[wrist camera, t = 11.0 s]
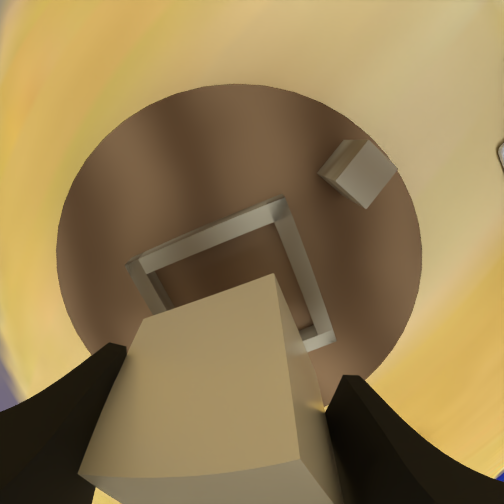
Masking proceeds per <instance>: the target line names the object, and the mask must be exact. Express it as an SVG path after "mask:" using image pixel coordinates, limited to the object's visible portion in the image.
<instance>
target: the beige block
mask: <svg viewBox="0 0 504 504" xmlns="http://www.w3.org/2000/svg"><path fill="white" fill-rule="evenodd" d="M78 475H80V476H81V477H83V478H84V479H85V480H87V481H88V482H90V483H91V484H93V485H94V486H95V487H97V488H98V489H100V490H101V491H103V492H104V493H106V494H108V495H109V496H111V497H112V498H114V499H116V500H117V501H119V502H120V503H122V504H344V502H343V497H342V492H341V487H340V481H339V476H338V471H337V467H336V462H335V457H334V452H333V447H332V443H331V438H330V434H329V429H328V425H327V420H326V415H325V410H324V406H323V402H322V397H321V393H320V388H319V384H318V380H317V375H316V372H315V370H314V367H313V365H312V363H311V360H310V358H309V355H308V353H307V351H306V348H305V346H304V343H303V341H302V338H301V336H300V334H299V331H298V329H297V326H296V324H295V322H294V319H293V317H292V314H291V312H290V310H289V307H288V305H287V303H286V300H285V298H284V295H283V293H282V291H281V288H280V286H279V284H278V281H277V279H276V276H275V274H274V273H272V274H270V275H267V276H264V277H261V278H259V279H256V280H253V281H250V282H248V283H245V284H242V285H239V286H237V287H234V288H231V289H228V290H225V291H223V292H220V293H217V294H214V295H211V296H208V297H206V298H203V299H200V300H197V301H194V302H191V303H188V304H186V305H183V306H180V307H177V308H174V309H171V310H168V311H165V312H162V313H159V314H156V315H153V316H150V317H148V318H145V319H143V321H142V323H141V325H140V327H139V329H138V331H137V333H136V336H135V338H134V340H133V342H132V344H131V346H130V348H129V351H128V353H127V356H126V358H125V360H124V362H123V365H122V367H121V369H120V371H119V374H118V376H117V378H116V380H115V382H114V384H113V386H112V388H111V391H110V393H109V395H108V398H107V400H106V403H105V405H104V407H103V410H102V412H101V414H100V417H99V419H98V422H97V424H96V427H95V429H94V432H93V434H92V437H91V439H90V442H89V445H88V447H87V450H86V452H85V455H84V458H83V460H82V463H81V466H80V469H79V471H78Z"/></svg>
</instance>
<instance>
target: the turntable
mask: <svg viewBox="0 0 504 504" xmlns="http://www.w3.org/2000/svg"><path fill="white" fill-rule="evenodd" d="M397 170H398V168H397V167H396V166H395V165H394V164H393V163H392V162H391V161H390V159H389V158H388V156H387V155H386V154H385V153H384V152H383V150H382V149H381V148H380V147H379V146H378V145H377V144H376V143H375V142H374V140H373V139H372V138H371V137H370V136H369V135H368V134H366V133H365V132H364V131H363V130H362V129H360V128H359V127H358V126H357V125H356V124H354V123H353V122H352V121H351V120H349V119H348V118H347V117H345V116H343V115H342V114H340V113H338V112H336V111H335V110H333V109H331V108H330V107H328V106H326V105H324V104H323V103H320V102H318V101H315V100H313V99H310V98H308V97H305V96H303V95H300V94H297V93H295V92H291V91H286V90H282V89H278V88H273V87H268V86H261V85H246V84H227V85H216V86H206V87H201V88H197V89H193V90H189V91H185V92H181V93H177V94H174V95H172V96H169V97H167V98H165V99H162V100H160V101H158V102H155V103H153V104H151V105H149V106H147V107H145V108H144V109H142V110H140V111H139V112H137V113H136V114H134V115H132V116H131V117H129V118H128V119H126V120H125V121H123V122H122V123H121V124H120V125H119V126H118V127H116V128H115V129H114V130H113V131H112V132H111V133H110V134H108V135H107V136H106V137H105V138H104V139H103V140H102V141H101V142H100V144H99V145H98V146H97V147H96V148H95V150H94V151H93V152H92V153H91V154H90V156H89V157H88V158H87V159H86V161H85V163H84V164H83V166H82V167H81V169H80V171H79V172H78V174H77V176H76V178H75V179H74V181H73V183H72V186H71V188H70V190H69V193H68V195H67V198H66V200H65V203H64V206H63V210H62V214H61V218H60V222H59V226H58V236H57V246H56V256H57V273H58V279H59V284H60V290H61V294H62V297H63V301H64V304H65V307H66V310H67V313H68V315H69V317H70V319H71V322H72V324H73V326H74V328H75V330H76V332H77V334H78V335H79V337H80V338H81V340H82V342H83V343H84V345H85V346H86V348H87V349H88V351H89V352H90V353H91V355H93V354H94V353H95V352H97V351H98V350H99V349H101V348H102V347H103V346H105V345H106V344H107V343H109V342H110V343H115V344H119V345H123V346H126V348H127V353H128V351H129V348H130V346H131V344H132V342H133V340H134V338H135V336H136V333H137V331H138V329H139V327H140V325H141V323H142V321H143V319H145V318H148V317H150V316H153V315H156V314H159V313H162V312H165V311H168V310H171V309H174V308H177V307H180V306H183V305H186V304H188V303H191V302H194V301H197V300H200V299H203V298H206V297H208V296H211V295H214V294H217V293H220V292H223V291H225V290H228V289H231V288H234V287H237V286H239V285H242V284H245V283H248V282H250V281H253V280H256V279H259V278H261V277H264V276H267V275H270V274H272V273H274V274H275V276H276V279H277V281H278V284H279V286H280V288H281V291H282V293H283V295H284V298H285V300H286V303H287V305H288V307H289V310H290V312H291V314H292V317H293V319H294V322H295V324H296V326H297V329H298V331H299V334H300V336H301V338H302V341H303V343H304V346H305V348H306V351H307V353H308V355H309V358H310V360H311V363H312V365H313V367H314V370H315V372H316V375H317V380H318V384H319V388H320V393H321V397H322V402H323V406H324V407H325V406H327V405H329V404H330V402H331V400H332V397H333V395H334V393H335V391H336V389H337V387H338V384H339V382H340V380H341V378H342V376H343V375H359V376H360V377H361V378H363V379H364V380H366V379H367V378H368V377H369V376H370V375H371V374H372V373H373V372H374V371H375V370H376V369H377V368H378V367H379V366H380V365H381V363H382V362H383V361H384V360H385V358H386V357H387V356H388V354H389V353H390V352H391V351H392V349H393V348H394V346H395V345H396V343H397V341H398V340H399V338H400V336H401V335H402V333H403V331H404V329H405V327H406V325H407V322H408V320H409V318H410V316H411V313H412V311H413V307H414V304H415V301H416V297H417V294H418V289H419V283H420V277H421V270H422V245H421V237H420V229H419V223H418V219H417V216H416V212H415V209H414V205H413V202H412V199H411V197H410V195H409V193H408V190H407V188H406V186H405V184H404V182H403V180H402V178H401V176H400V174H399V173H398V171H397Z"/></svg>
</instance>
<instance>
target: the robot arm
mask: <svg viewBox="0 0 504 504" xmlns="http://www.w3.org/2000/svg"><path fill="white" fill-rule="evenodd" d="M498 154H499V157H500V160H501V162H502V165H503V168H504V143H503V144H502V145H501V146H500V148H499V151H498ZM126 356H127V348H126V346H123V345H119V344H115V343H110V342H109V343H107V344H106V345H105V346H103V347H102V348H101V349H99V350H98V351H97V352H95V353H94V354H93V355H92V356H90V357H89V358H88V359H86V360H85V361H84V362H83V363H81V364H80V365H79V366H77V367H76V368H75V369H73V370H72V371H71V372H69V373H68V374H66V375H65V376H64V377H62V378H61V379H59V380H58V381H56V382H55V383H53V384H52V385H50V386H49V387H47V388H46V389H44V390H43V391H41V392H40V393H38V394H36V395H34V396H33V397H31V398H29V399H27V400H25V401H23V402H21V403H20V404H18V405H16V406H13V407H11V408H9V409H6V410H4V411H2V412H0V504H92V500H93V496H94V491H95V486H94V485H93V484H91V483H90V482H88V481H87V480H85V479H84V478H83V477H81V476H80V475H78V471H79V469H80V466H81V463H82V460H83V458H84V455H85V452H86V450H87V447H88V445H89V442H90V439H91V437H92V434H93V432H94V429H95V427H96V424H97V422H98V419H99V417H100V414H101V412H102V410H103V407H104V405H105V403H106V400H107V398H108V395H109V393H110V391H111V388H112V386H113V384H114V382H115V380H116V378H117V376H118V374H119V371H120V369H121V367H122V365H123V362H124V360H125V358H126ZM325 415H326V420H327V425H328V429H329V434H330V438H331V443H332V447H333V452H334V457H335V462H336V467H337V471H338V476H339V481H340V487H341V492H342V497H343V502H344V504H504V482H502V481H499V480H496V479H493V478H490V477H488V476H485V475H483V474H481V473H478V472H476V471H474V470H472V469H470V468H468V467H466V466H464V465H463V464H461V463H459V462H457V461H456V460H454V459H452V458H451V457H449V456H447V455H446V454H444V453H443V452H441V451H440V450H439V449H437V448H436V447H435V446H433V445H432V444H430V443H429V442H428V441H427V440H425V439H424V438H423V437H422V436H420V435H419V434H418V433H417V432H416V431H415V430H414V429H413V428H411V427H410V426H409V425H408V424H407V423H406V422H405V421H404V420H403V419H402V418H401V417H400V416H399V415H398V414H397V413H396V412H395V411H394V410H393V409H392V408H391V407H390V406H389V405H388V404H387V403H386V402H385V401H384V400H383V399H382V398H381V397H380V396H379V395H378V394H377V393H376V392H375V391H374V390H373V389H372V388H371V387H370V386H369V384H368V383H367V382H366V381H365V380H364V379H363V378H361V377H360V376H359V375H343V376H342V378H341V380H340V382H339V384H338V387H337V389H336V391H335V393H334V395H333V397H332V400H331V402H330V404H329V406H328V408H327V410H326V412H325Z"/></svg>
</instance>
